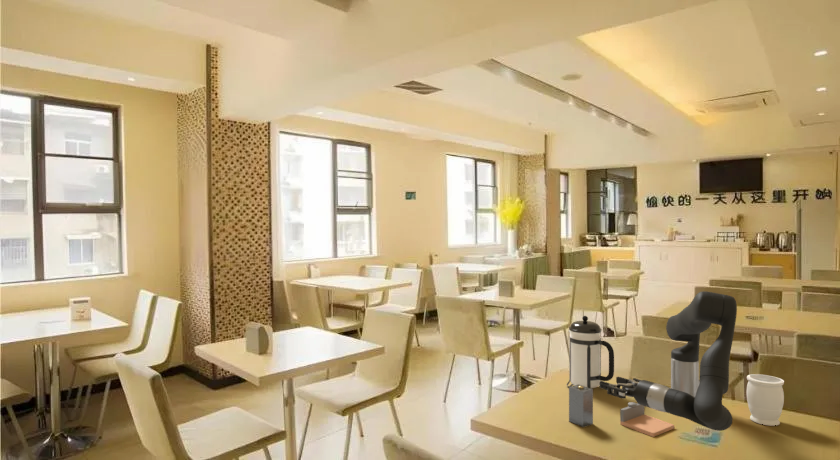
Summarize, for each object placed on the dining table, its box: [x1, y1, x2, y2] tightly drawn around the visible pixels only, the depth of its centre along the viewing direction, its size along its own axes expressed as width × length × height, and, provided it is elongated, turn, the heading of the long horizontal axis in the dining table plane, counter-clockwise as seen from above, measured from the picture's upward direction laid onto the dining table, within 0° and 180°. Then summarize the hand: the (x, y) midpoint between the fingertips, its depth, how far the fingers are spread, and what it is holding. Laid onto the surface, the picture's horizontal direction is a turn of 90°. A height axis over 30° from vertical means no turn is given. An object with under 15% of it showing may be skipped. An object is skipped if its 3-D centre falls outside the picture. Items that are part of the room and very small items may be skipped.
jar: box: [746, 373, 785, 427], centre depth 172 cm, size 11×10×15 cm
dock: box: [619, 401, 675, 438], centre depth 168 cm, size 12×13×6 cm
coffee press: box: [566, 315, 615, 389], centre depth 206 cm, size 17×16×30 cm
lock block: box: [568, 385, 594, 428], centre depth 171 cm, size 5×6×13 cm
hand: (608, 381), depth 162 cm, fingers open, 8 cm apart
